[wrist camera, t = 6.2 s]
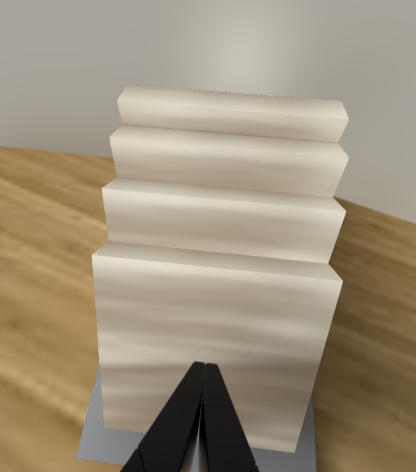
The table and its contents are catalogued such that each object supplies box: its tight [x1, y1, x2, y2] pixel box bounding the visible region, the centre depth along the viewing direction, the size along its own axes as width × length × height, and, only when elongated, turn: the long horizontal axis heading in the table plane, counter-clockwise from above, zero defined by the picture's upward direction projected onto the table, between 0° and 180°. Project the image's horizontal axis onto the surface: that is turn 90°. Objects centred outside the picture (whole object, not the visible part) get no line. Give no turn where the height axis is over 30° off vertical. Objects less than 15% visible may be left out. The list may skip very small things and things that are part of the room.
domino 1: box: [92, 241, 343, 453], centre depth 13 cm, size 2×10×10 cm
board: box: [76, 364, 317, 472], centre depth 18 cm, size 16×13×1 cm
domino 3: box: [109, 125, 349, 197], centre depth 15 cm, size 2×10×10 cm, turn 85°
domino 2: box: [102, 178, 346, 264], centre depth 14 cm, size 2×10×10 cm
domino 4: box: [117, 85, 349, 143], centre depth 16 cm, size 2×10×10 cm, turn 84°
